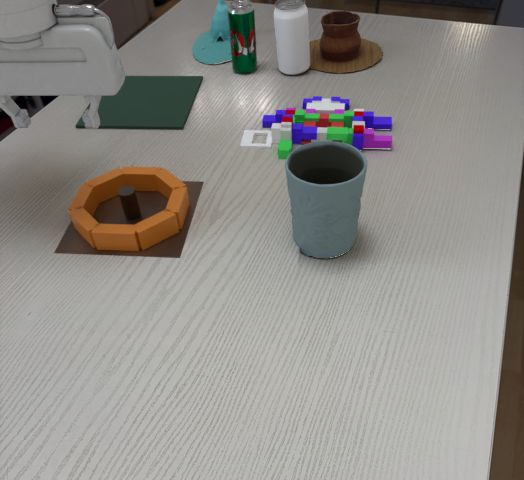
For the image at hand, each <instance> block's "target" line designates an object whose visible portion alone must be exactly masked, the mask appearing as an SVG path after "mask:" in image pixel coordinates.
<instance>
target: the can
mask: <svg viewBox="0 0 524 480" xmlns="http://www.w3.org/2000/svg"><path fill="white" fill-rule="evenodd" d="M273 26H274V35H275V36H274V37H275V38H274V39H275V47H276V57H277V59H276V60H277V67H278V70H279V71H280V72H281V73H282V74H284V75H285V76H298V75H301V74H304V73H306V72H307V71H308V70H309V69H310V68H309V67H310V45H309V42H310V25H309V9H308V6H307V5H306V0H276V1H275V3H274V10H273Z"/></svg>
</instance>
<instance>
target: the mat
mask: <svg viewBox="0 0 524 480" xmlns="http://www.w3.org/2000/svg"><path fill="white" fill-rule="evenodd" d="M203 80H204V76H203V75H125V80H124V83H123V85H122V87H121V88H120V90H119V91H118V92H117V94H116V95H113V96H102V97H101V100H100V104H99V107H98V110H97V111H98V115H99V118H100V125H99V127H98V129H116V130H117V129H118V130H120V129H123V130H124V129H125V130H132V129H133V130H184V128H185V125H186V122H187V120H188V118H189V115H190V113H191V111H192V107H193V106H194V102H195V100H196V98H197V95H198V93H199V90H200V87H201V85H202V83H203ZM90 104H91V103H88V105H87V107H86V108H85V110H84V111H83V113H82V114H81V115H80V117H79V119H78V121H77V122H76V123H75V125H74V127H75V128H76V129H86V128H85V123H84V122H83V119H82V115H83V114H84V113H85V111H86V110H89V109H90Z"/></svg>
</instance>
